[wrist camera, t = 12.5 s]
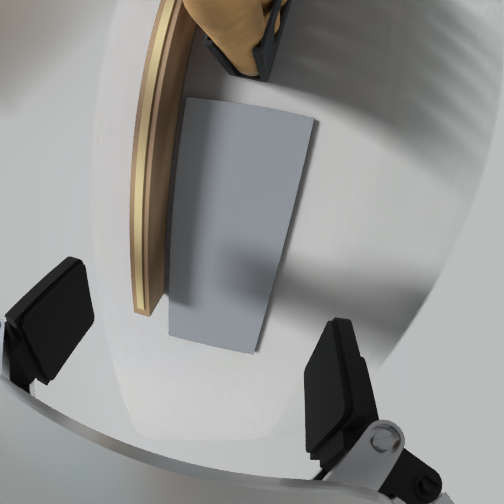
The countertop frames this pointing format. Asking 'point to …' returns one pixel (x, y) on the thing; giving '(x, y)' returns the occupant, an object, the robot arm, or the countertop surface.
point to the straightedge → (156, 150)
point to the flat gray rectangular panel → (231, 217)
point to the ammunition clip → (241, 33)
